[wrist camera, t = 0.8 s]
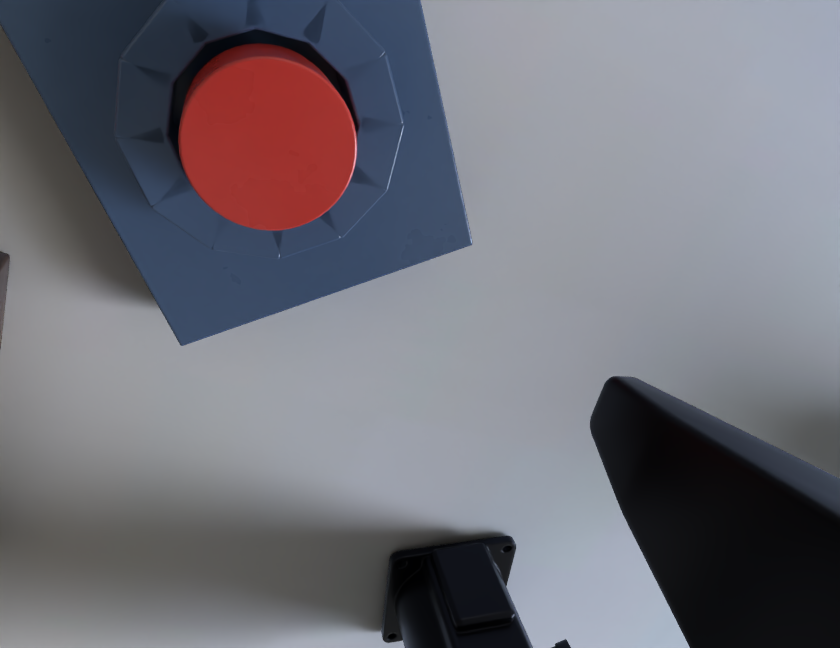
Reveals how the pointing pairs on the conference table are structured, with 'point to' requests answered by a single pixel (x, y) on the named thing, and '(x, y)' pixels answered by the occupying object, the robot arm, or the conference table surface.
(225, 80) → the switch button
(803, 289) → the conference table surface
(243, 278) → the switch block
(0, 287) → the dimmer panel
